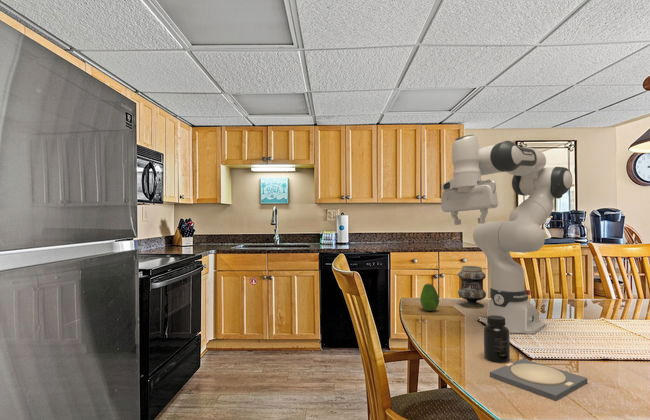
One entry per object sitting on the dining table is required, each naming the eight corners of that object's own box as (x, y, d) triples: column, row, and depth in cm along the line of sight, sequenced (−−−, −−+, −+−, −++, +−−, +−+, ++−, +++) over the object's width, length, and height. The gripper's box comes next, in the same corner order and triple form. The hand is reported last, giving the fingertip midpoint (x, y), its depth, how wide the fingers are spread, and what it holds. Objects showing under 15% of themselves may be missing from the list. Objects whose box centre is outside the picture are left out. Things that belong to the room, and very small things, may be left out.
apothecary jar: (490, 305, 177) (489, 266, 177) (480, 310, 168) (479, 269, 168) (464, 301, 185) (464, 264, 185) (453, 306, 176) (453, 266, 177)
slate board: (523, 362, 108) (522, 356, 108) (587, 382, 94) (587, 375, 94) (489, 376, 99) (489, 369, 99) (555, 400, 85) (555, 392, 85)
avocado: (416, 311, 168) (416, 283, 168) (426, 308, 173) (426, 281, 174) (433, 314, 162) (432, 285, 162) (442, 311, 167) (442, 283, 168)
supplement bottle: (479, 355, 114) (479, 314, 114) (501, 354, 115) (501, 313, 115) (491, 363, 107) (490, 320, 107) (515, 362, 108) (514, 319, 108)
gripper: (501, 179, 122) (503, 222, 121) (449, 187, 140) (451, 225, 138) (488, 177, 119) (491, 222, 118) (437, 186, 136) (439, 225, 135)
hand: (469, 224), depth 128 cm, fingers open, 8 cm apart
